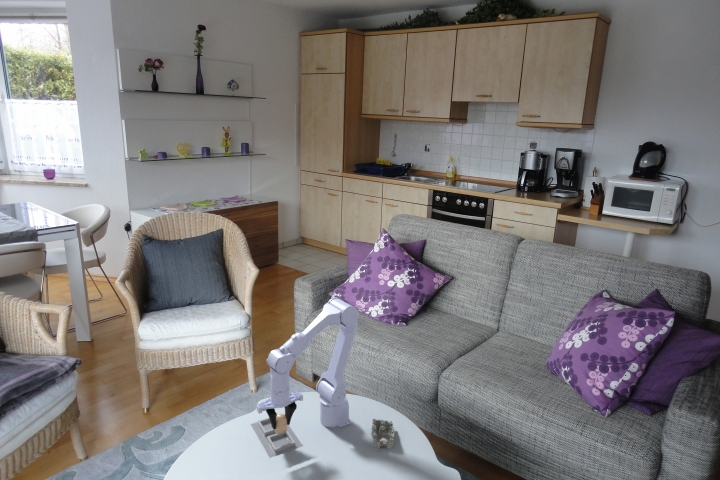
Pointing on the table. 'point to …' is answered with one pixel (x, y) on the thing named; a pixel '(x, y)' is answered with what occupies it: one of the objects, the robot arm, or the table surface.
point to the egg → (281, 424)
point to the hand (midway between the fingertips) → (280, 425)
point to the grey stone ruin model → (382, 433)
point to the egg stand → (275, 438)
